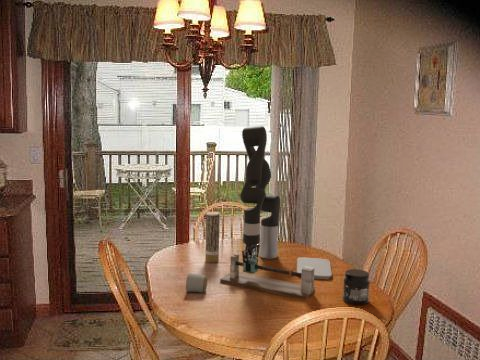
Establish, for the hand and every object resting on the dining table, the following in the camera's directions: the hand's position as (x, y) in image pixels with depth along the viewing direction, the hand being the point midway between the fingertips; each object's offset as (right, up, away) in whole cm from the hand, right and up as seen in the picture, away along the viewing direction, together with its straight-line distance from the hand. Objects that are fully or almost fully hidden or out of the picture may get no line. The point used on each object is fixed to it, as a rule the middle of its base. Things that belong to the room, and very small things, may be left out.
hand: (250, 269), depth 204 cm
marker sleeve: (0, -1, 0) cm, 1 cm away
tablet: (+31, -5, +21) cm, 38 cm away
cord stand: (+7, -7, -3) cm, 10 cm away
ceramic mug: (-23, -7, -9) cm, 26 cm away
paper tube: (-19, -2, +30) cm, 36 cm away
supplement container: (+43, -10, -16) cm, 47 cm away
